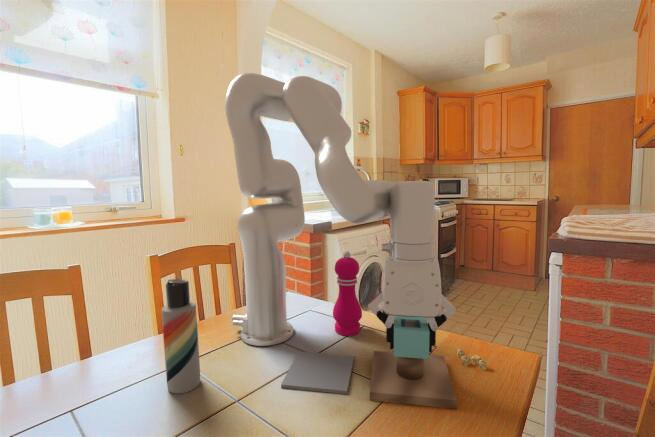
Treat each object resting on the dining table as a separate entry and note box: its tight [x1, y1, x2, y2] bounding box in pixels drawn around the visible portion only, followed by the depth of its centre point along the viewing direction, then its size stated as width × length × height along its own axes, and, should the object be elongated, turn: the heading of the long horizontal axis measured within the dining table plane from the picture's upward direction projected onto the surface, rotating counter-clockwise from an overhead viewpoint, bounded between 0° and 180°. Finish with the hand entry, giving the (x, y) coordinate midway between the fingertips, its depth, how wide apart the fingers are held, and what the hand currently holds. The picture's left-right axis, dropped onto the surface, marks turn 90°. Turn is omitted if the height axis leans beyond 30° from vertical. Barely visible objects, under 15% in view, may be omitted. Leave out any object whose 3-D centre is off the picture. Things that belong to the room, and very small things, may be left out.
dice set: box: [456, 349, 488, 371], centre depth 69 cm, size 5×5×2 cm
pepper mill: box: [332, 250, 363, 337], centre depth 83 cm, size 7×7×20 cm
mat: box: [280, 351, 355, 395], centre depth 66 cm, size 12×12×1 cm
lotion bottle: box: [161, 278, 201, 395], centre depth 62 cm, size 6×6×20 cm
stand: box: [369, 319, 458, 410], centre depth 63 cm, size 14×14×11 cm
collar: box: [393, 316, 430, 359], centre depth 62 cm, size 6×6×5 cm
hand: (410, 346), depth 62 cm, fingers closed on collar, 6 cm apart
